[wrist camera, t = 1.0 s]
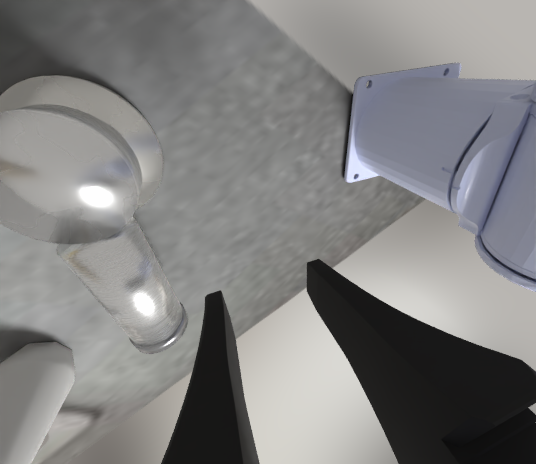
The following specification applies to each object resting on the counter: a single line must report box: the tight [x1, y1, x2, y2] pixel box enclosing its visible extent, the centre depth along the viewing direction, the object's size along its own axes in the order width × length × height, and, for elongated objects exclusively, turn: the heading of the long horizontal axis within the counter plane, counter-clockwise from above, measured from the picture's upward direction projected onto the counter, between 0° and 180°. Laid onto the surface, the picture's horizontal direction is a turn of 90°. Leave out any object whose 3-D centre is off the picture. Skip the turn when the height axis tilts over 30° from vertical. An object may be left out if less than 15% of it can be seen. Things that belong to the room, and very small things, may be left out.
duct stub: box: [0, 75, 163, 210], centre depth 13 cm, size 9×8×4 cm
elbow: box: [0, 104, 188, 354], centre depth 13 cm, size 15×6×4 cm, turn 6°
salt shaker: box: [0, 342, 75, 464], centre depth 16 cm, size 6×6×13 cm
